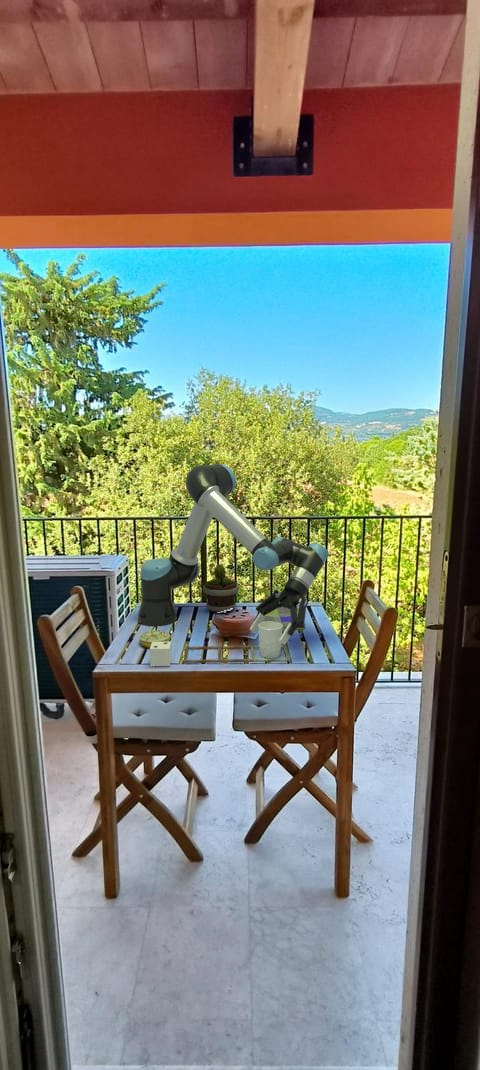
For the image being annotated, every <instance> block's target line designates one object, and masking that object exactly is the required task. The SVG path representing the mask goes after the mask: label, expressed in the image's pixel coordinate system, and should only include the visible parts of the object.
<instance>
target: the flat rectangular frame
mask: <svg viewBox="0 0 480 1070" xmlns="http://www.w3.org/2000/svg"><path fill="white" fill-rule="evenodd" d="M237 649H238V650H244V649H247V650H248V649H249V650H250V651H251V658H227V659H226V658H222V650H237ZM257 649H258V650H260V646H259V645H236V646H235V645H226V646H225V645H222V646H221V645H218V646H215V645H214V646H212V645H211V646H209V645H208V646H205V645H204V646H185V650H184V654H183V655H184V656H183V660H182V661H183V663H184V664H194V663H196V664H197V663H198V664H199V663H200V664H201V663H203V664H205V663H210V664H211V663H262V662H263V663H264V662H265V663H266V662H268V663H271V662H272V663H275V662H276V663H277V662H279V663H281V662H291V656H290V654H289V651H288V648H287V645H286V644H285V645H283V644H281V649H283V651H284V654H285V657H286V658H285V657H282V658H279V657H276V658H257V657H256V652H255V650H257ZM190 650H217V651H218V652H217V655H218V656H217V658H218V659H213V658H212V659H210V658H209V659H188V656H189V651H190Z"/></svg>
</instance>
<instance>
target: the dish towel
mask: <svg viewBox="0 0 480 1070" xmlns="http://www.w3.org/2000/svg"><path fill="white" fill-rule="evenodd" d="M260 609H261V608H260ZM263 612H264V611H263ZM298 612H299V606H297V616H298ZM267 621H273V622H278V623H281V624H282V625H283V628H282V631H285V629H286V628H287V626H288V624H289V623H291V622H292V620H291V612H290V609H288V608H285V607H281V608H280V607H279V608H277V609H275V610H273V611H272V612H270V613H268V614H266V615H265V619H264V620H263V622H267ZM291 624H292V623H291ZM305 626H306V624H305V622H304V627H303V628H301V627H298V628H296V630H295V631H305Z"/></svg>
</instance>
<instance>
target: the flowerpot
mask: <svg viewBox="0 0 480 1070" xmlns="http://www.w3.org/2000/svg"><path fill="white" fill-rule="evenodd" d="M227 573H228V571H227V568H226V566H224V565H223V563H217V562H216V563H215V567H213V571H212V574H213V578H211V579H210V580H207V581H206V582H205V584H204V585H203V587H202V591H203V593H204V594H205V597H206V600H207V601H206V605H205V606H206V608H207V609H208V611H209V613H210V612H211V613H213V614H216V613H215V612H221V611H224V610H227V609H230V608H234V607H236V601H235V600H236V596H237V593H238V592H239V591H240V586H239V584H237V583H236V581H235V580H233V579H232V578H231V577H229V575H227ZM234 609H235V608H234Z"/></svg>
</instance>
